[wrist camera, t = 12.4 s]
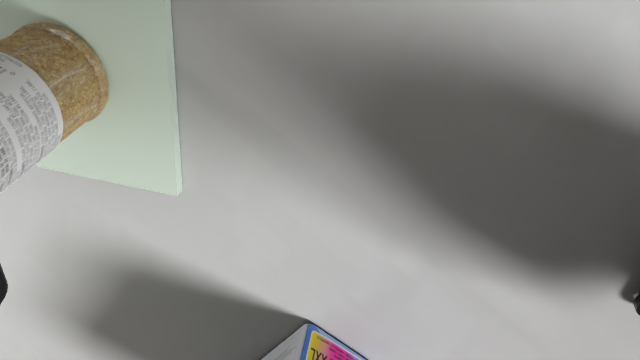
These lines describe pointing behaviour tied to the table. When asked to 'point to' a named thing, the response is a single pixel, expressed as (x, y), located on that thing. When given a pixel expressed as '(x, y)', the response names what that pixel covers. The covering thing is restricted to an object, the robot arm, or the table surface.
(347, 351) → the ink cartridge box
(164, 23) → the pad
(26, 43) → the sprinkles bottle
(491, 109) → the table surface
